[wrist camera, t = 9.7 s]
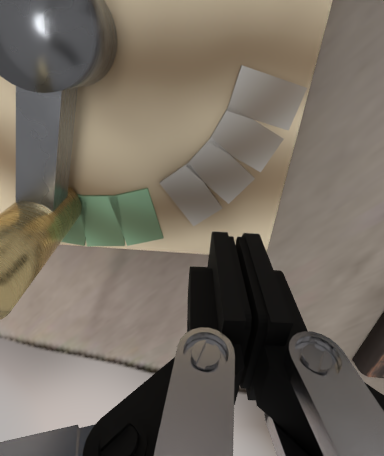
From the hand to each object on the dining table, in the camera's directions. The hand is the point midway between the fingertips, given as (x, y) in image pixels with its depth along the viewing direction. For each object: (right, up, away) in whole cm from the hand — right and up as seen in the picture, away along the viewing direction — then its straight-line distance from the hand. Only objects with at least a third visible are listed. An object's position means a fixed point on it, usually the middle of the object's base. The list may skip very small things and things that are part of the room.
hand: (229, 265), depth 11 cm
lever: (-8, +6, +5) cm, 12 cm away
